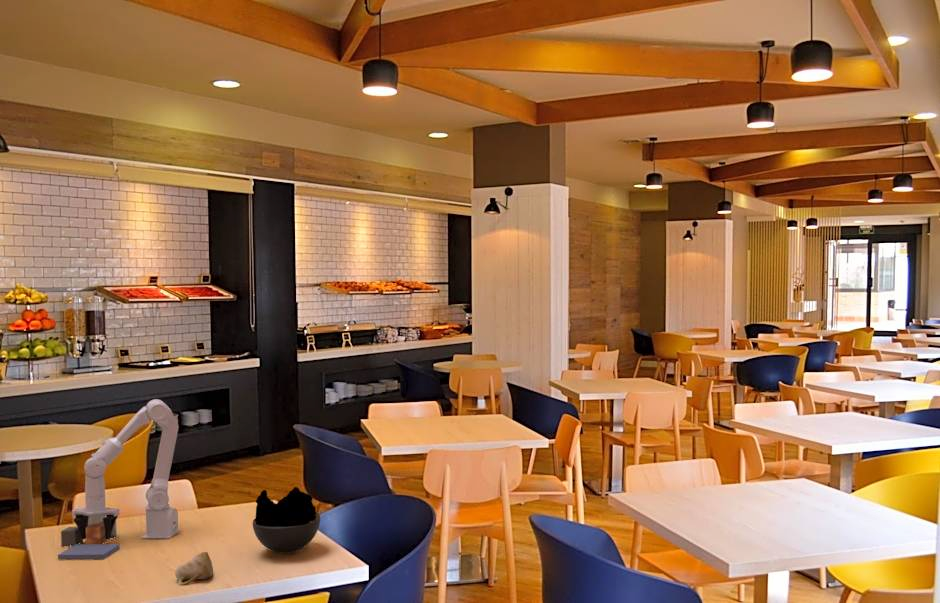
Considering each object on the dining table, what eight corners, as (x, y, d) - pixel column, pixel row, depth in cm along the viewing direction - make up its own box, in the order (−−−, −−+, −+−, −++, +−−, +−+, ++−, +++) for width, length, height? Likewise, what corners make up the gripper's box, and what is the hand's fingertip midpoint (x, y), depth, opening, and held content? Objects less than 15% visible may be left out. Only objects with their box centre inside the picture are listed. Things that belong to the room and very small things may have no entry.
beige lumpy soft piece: (173, 578, 227) (191, 543, 230) (205, 592, 227) (223, 557, 230) (168, 580, 220) (186, 544, 222) (201, 595, 220) (218, 559, 223)
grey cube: (119, 535, 269) (118, 519, 269) (111, 539, 264) (111, 524, 264) (104, 535, 269) (104, 519, 269) (96, 539, 264) (96, 524, 264)
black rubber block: (83, 542, 262) (82, 526, 262) (75, 546, 257) (74, 531, 257) (69, 542, 262) (68, 527, 262) (61, 546, 257) (61, 531, 257)
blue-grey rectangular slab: (119, 548, 254) (119, 544, 254) (103, 559, 244) (103, 554, 244) (76, 549, 254) (75, 544, 254) (58, 559, 244) (57, 554, 244)
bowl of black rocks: (334, 545, 252) (332, 484, 251) (294, 565, 234) (292, 500, 233) (281, 538, 260) (280, 479, 260) (239, 557, 242) (237, 494, 242)
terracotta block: (107, 542, 261) (106, 523, 261) (100, 546, 257) (99, 527, 257) (93, 542, 261) (93, 523, 261) (86, 546, 257) (85, 527, 257)
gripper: (66, 499, 255) (67, 542, 255) (111, 498, 255) (112, 542, 255) (78, 493, 262) (79, 535, 263) (122, 493, 262) (123, 535, 262)
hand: (96, 538), depth 259 cm, fingers open, 7 cm apart
